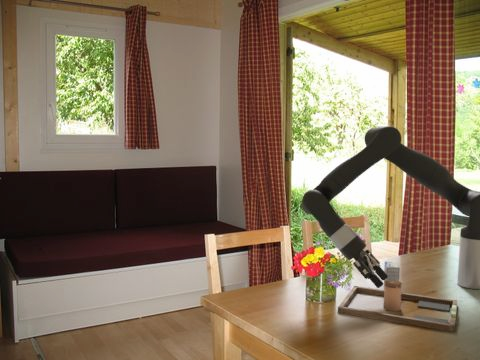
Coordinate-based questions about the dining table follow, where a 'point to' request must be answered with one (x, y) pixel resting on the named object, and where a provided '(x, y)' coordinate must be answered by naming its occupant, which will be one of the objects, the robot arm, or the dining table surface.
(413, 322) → the box
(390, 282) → the terracotta jar
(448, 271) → the dining table surface
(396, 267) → the medicine box
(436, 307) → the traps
